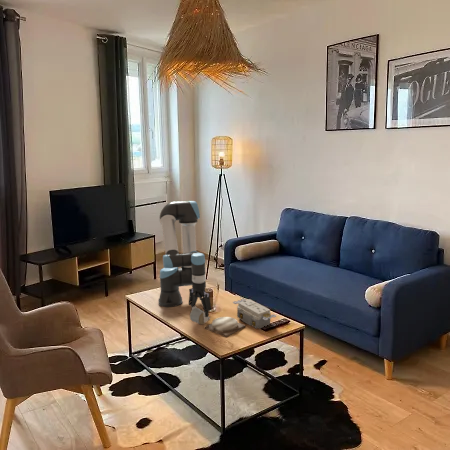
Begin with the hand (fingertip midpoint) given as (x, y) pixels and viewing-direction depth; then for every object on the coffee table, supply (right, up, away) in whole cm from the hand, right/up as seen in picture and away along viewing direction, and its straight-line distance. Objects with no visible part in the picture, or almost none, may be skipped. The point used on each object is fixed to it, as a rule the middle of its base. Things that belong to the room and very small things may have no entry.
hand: (200, 319), depth 253 cm
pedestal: (+14, -4, -4) cm, 15 cm away
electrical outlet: (+30, -2, +3) cm, 31 cm away
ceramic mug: (0, -2, +1) cm, 2 cm away
